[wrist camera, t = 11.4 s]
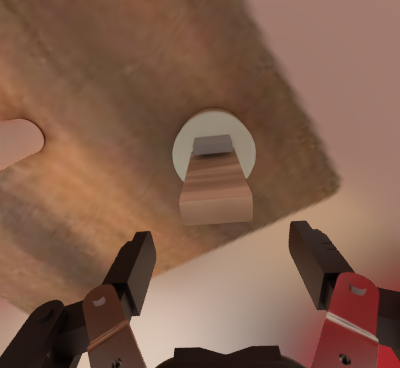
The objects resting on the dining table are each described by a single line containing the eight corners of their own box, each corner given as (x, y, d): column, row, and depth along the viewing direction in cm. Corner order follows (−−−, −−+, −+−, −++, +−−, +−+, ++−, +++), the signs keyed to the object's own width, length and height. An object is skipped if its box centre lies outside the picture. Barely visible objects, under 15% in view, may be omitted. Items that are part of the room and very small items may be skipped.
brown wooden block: (191, 151, 25) (178, 202, 15) (233, 147, 25) (252, 196, 14) (193, 167, 26) (183, 226, 15) (234, 162, 26) (252, 220, 15)
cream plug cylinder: (174, 111, 30) (159, 124, 21) (245, 103, 29) (263, 113, 20) (184, 176, 35) (175, 211, 25) (247, 170, 34) (262, 204, 24)
